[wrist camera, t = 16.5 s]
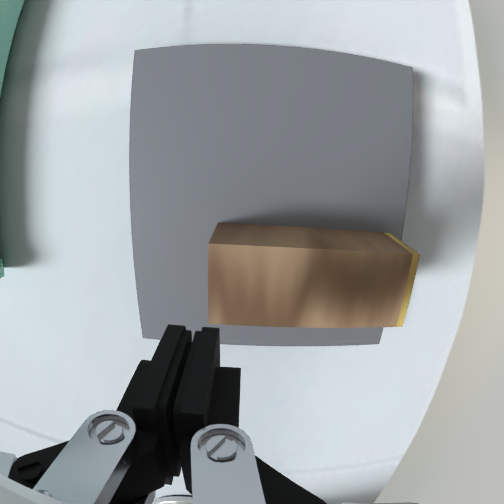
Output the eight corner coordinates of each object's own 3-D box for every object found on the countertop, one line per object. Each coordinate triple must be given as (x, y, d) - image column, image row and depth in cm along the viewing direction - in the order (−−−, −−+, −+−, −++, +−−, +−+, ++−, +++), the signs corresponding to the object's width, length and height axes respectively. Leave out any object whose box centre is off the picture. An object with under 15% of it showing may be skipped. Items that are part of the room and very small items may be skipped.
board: (370, 329, 22) (379, 343, 20) (150, 323, 22) (142, 338, 20) (398, 73, 17) (412, 67, 15) (145, 58, 16) (134, 50, 15)
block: (216, 289, 19) (377, 294, 19) (208, 323, 15) (402, 326, 15) (217, 222, 18) (389, 233, 18) (208, 243, 14) (419, 254, 14)
